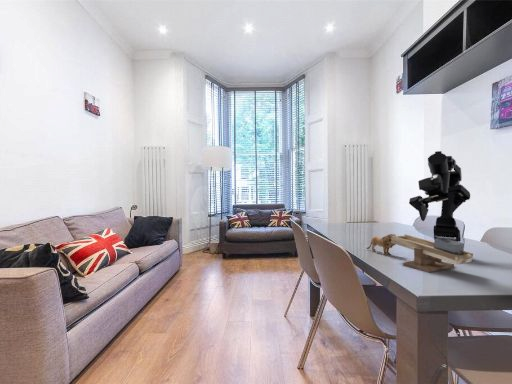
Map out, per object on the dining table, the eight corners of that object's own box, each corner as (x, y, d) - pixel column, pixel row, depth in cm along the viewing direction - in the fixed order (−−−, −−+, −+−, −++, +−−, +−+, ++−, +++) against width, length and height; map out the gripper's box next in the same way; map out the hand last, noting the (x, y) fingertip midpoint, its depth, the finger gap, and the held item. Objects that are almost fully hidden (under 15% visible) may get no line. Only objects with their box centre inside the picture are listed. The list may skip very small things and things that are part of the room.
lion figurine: (400, 255, 124) (400, 233, 124) (393, 256, 121) (393, 235, 121) (369, 249, 136) (369, 229, 136) (362, 250, 133) (362, 230, 133)
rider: (441, 250, 104) (443, 237, 103) (462, 256, 98) (464, 243, 97) (433, 251, 102) (434, 239, 101) (453, 258, 95) (455, 244, 95)
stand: (427, 260, 114) (427, 242, 113) (454, 266, 105) (454, 247, 104) (402, 265, 108) (402, 246, 107) (428, 272, 98) (428, 251, 98)
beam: (405, 240, 119) (405, 234, 119) (472, 261, 97) (473, 253, 96) (391, 242, 115) (391, 236, 115) (457, 264, 93) (458, 256, 93)
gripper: (402, 178, 114) (396, 211, 106) (452, 161, 98) (448, 198, 90) (421, 194, 116) (415, 227, 109) (472, 180, 101) (470, 217, 93)
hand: (435, 217), depth 100 cm, fingers open, 9 cm apart
